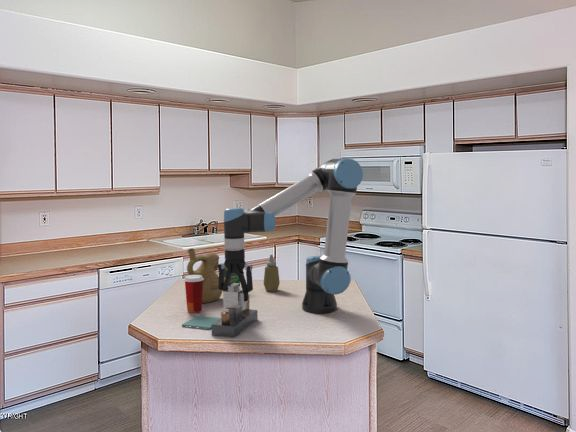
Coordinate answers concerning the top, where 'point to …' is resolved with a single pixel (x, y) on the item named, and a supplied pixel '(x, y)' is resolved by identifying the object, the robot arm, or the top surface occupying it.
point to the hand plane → (234, 321)
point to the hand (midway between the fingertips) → (236, 308)
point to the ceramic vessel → (206, 274)
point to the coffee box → (234, 277)
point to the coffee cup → (194, 292)
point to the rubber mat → (201, 322)
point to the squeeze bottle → (271, 276)
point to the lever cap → (233, 296)
